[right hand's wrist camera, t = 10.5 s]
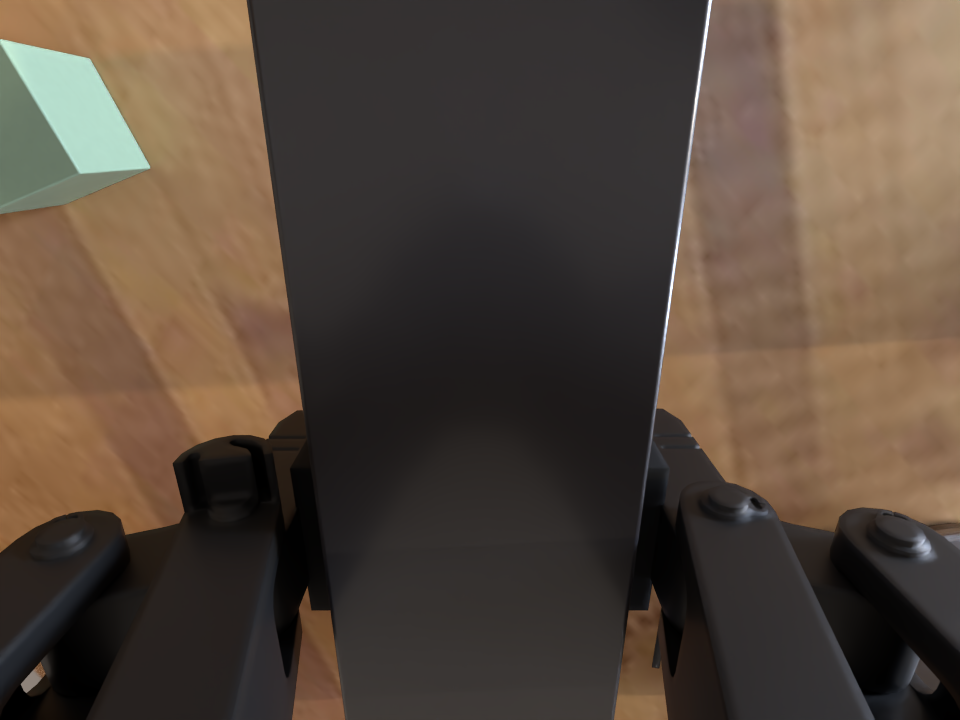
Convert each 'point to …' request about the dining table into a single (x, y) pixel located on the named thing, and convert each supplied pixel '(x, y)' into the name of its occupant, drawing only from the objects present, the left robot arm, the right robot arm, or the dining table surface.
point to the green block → (58, 130)
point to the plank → (479, 327)
